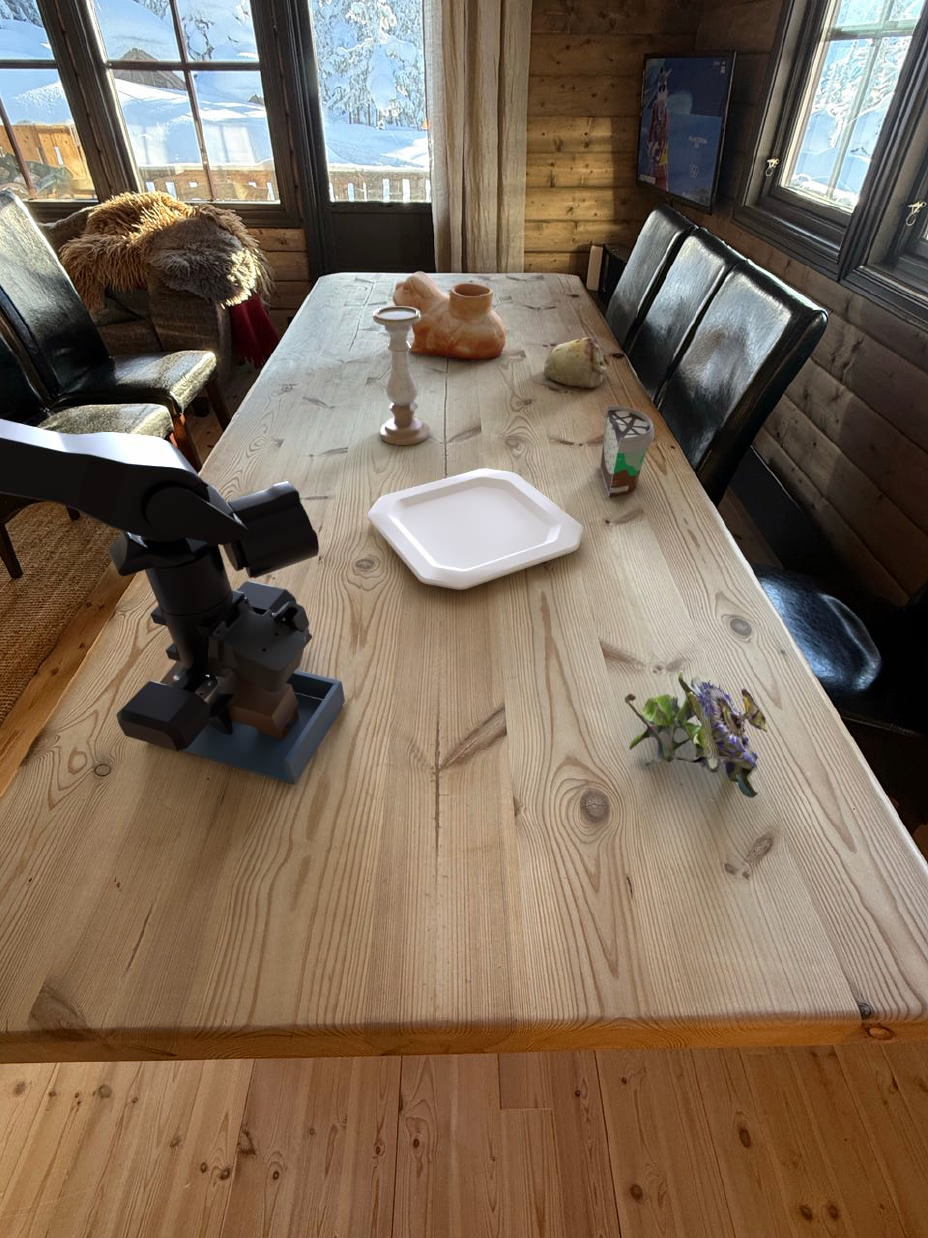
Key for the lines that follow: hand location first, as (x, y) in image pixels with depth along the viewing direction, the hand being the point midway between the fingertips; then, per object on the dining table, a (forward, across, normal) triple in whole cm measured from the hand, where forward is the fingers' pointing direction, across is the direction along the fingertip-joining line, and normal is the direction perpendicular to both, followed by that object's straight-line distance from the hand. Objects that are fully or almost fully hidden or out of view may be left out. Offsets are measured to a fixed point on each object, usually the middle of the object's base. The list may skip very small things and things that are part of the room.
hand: (238, 719), depth 64 cm
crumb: (0, 0, -3) cm, 3 cm away
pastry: (+2, +103, -12) cm, 104 cm away
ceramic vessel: (+2, +111, +18) cm, 113 cm away
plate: (+2, +41, -11) cm, 43 cm away
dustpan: (+2, +5, 0) cm, 5 cm away
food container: (+2, +62, -29) cm, 69 cm away
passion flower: (+2, +10, -42) cm, 43 cm away
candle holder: (+2, +67, +10) cm, 68 cm away
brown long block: (-1, 0, 0) cm, 1 cm away
